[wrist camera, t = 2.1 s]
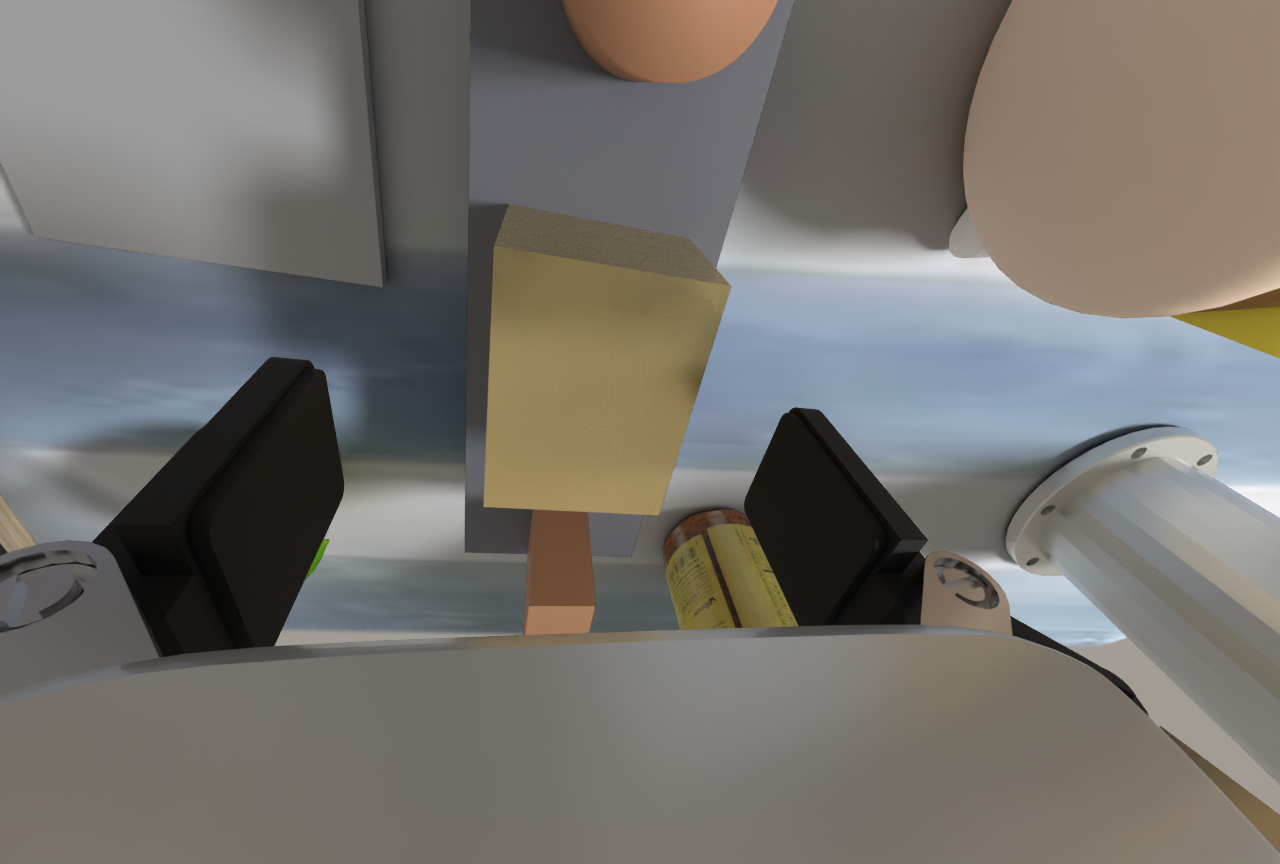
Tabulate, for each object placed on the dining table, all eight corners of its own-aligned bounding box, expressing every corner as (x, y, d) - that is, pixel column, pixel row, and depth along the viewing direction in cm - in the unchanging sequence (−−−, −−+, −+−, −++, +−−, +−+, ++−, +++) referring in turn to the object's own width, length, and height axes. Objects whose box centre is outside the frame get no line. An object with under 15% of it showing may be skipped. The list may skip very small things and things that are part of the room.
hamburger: (1008, -197, 13) (2211, -930, 4) (1264, -177, 14) (2747, -714, 5) (880, 254, 20) (1174, 411, 11) (1057, 247, 21) (1473, 384, 12)
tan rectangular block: (690, 238, 14) (731, 286, 11) (639, 436, 18) (658, 515, 14) (509, 204, 13) (494, 245, 9) (496, 424, 17) (483, 506, 13)
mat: (356, -96, 13) (348, -103, 12) (387, 281, 18) (382, 287, 18) (-168, -259, 10) (-202, -274, 10) (50, 232, 16) (34, 237, 15)
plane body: (744, -37, 14) (986, -185, 6) (619, 481, 26) (649, 666, 17) (498, -120, 13) (404, -464, 5) (479, 473, 24) (442, 671, 16)
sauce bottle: (676, 584, 31) (803, 1106, 15) (645, 524, 28) (769, 1127, 12) (773, 551, 31) (1009, 1057, 15) (754, 485, 27) (1042, 1063, 11)
